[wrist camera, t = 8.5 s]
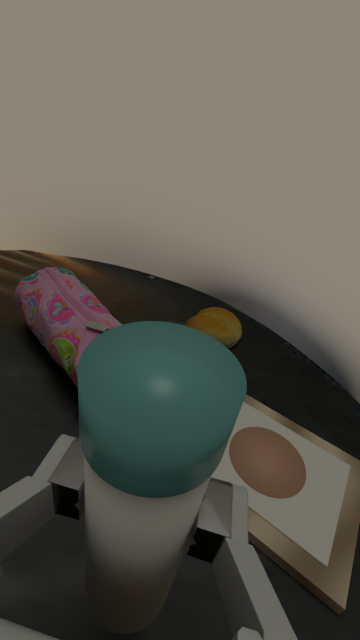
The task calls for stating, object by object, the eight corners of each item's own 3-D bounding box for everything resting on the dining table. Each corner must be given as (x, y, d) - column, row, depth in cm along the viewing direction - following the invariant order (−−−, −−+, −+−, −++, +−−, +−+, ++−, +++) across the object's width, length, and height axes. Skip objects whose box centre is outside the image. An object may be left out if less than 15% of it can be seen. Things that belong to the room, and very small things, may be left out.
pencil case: (162, 400, 33) (173, 333, 28) (84, 438, 27) (83, 363, 23) (81, 313, 46) (79, 258, 42) (17, 327, 40) (7, 265, 36)
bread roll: (175, 336, 44) (179, 313, 42) (204, 316, 51) (208, 296, 49) (223, 360, 41) (230, 337, 39) (247, 335, 48) (253, 314, 46)
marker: (64, 583, 12) (39, 362, 6) (129, 509, 15) (156, 307, 9) (129, 669, 11) (182, 481, 4) (188, 568, 13) (271, 368, 7)
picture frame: (153, 460, 26) (154, 451, 26) (222, 388, 36) (225, 380, 35) (338, 615, 19) (347, 607, 18) (363, 472, 29) (370, 464, 28)
